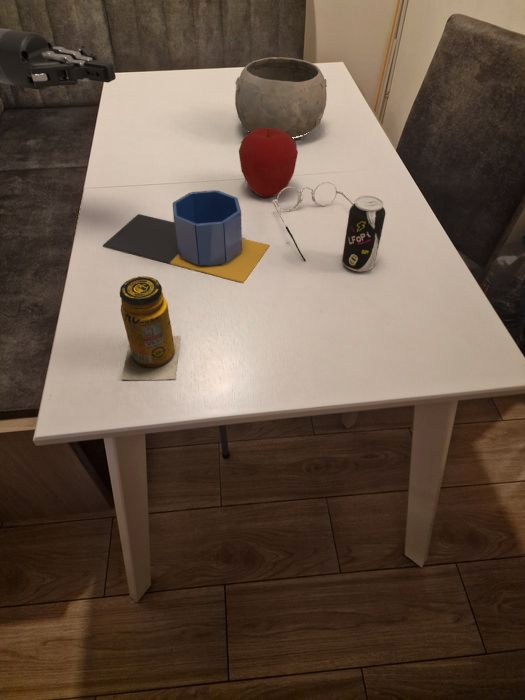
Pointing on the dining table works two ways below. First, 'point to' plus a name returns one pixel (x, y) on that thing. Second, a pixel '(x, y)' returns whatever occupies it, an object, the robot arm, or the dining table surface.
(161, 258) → the place mat
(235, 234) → the glazed bowl
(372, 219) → the beverage can
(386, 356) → the dining table surface
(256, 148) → the apple
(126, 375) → the condiment
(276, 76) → the bowl
